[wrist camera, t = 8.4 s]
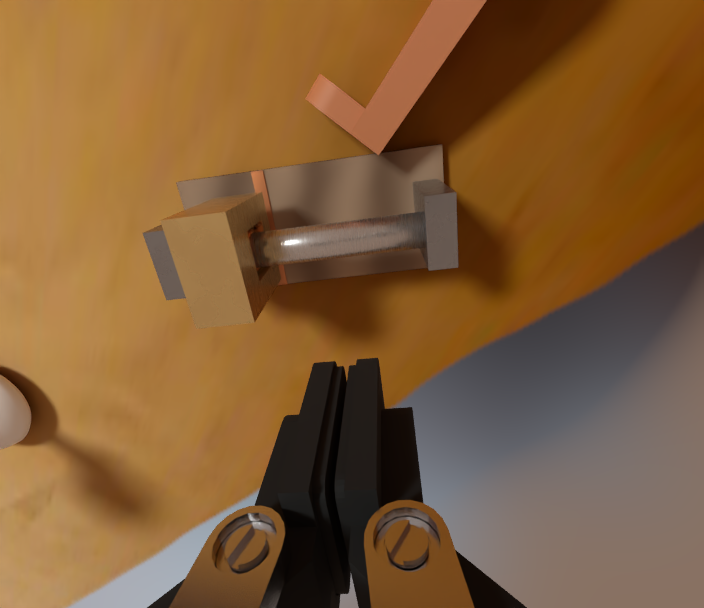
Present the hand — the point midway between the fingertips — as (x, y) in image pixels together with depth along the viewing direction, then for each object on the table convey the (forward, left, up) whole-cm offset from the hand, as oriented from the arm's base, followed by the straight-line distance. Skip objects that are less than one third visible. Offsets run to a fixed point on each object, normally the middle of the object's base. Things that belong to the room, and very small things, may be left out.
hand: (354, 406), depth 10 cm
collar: (+10, 0, -22) cm, 24 cm away
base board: (+4, 0, -26) cm, 26 cm away
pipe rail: (+4, 0, -26) cm, 26 cm away
